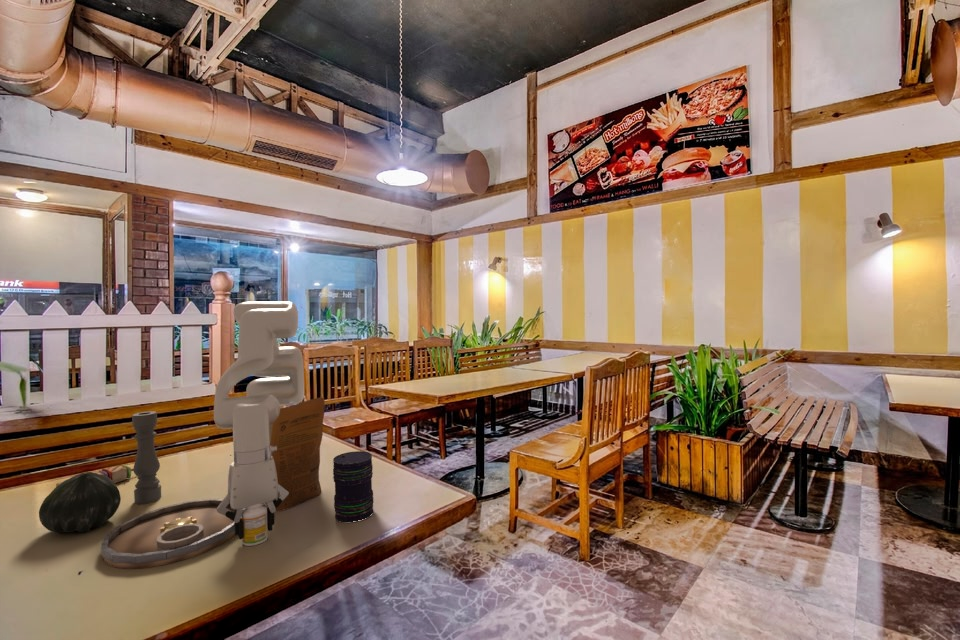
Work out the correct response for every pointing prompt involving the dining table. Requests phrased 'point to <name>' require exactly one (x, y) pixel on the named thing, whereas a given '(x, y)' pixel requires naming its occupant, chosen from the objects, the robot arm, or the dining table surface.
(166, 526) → the sun gear
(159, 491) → the candle holder
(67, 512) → the squash
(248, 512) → the supplement bottle
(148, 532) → the carrier plate
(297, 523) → the dining table surface
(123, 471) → the skewer
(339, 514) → the black ridged cylinder
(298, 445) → the pancake mix bag
